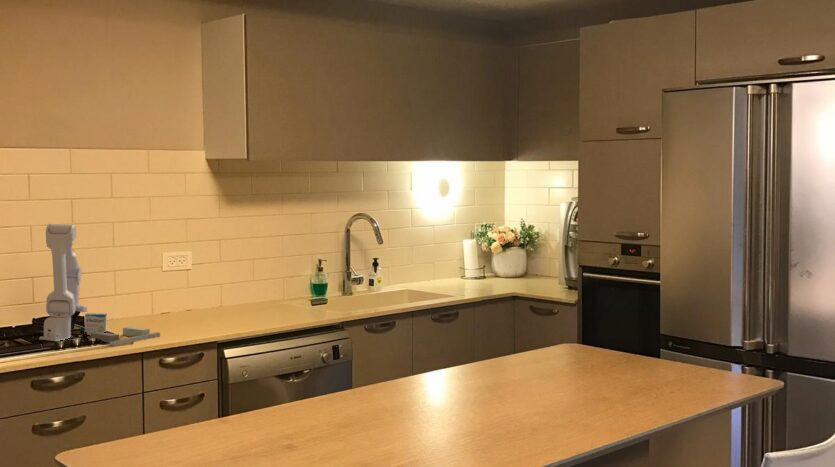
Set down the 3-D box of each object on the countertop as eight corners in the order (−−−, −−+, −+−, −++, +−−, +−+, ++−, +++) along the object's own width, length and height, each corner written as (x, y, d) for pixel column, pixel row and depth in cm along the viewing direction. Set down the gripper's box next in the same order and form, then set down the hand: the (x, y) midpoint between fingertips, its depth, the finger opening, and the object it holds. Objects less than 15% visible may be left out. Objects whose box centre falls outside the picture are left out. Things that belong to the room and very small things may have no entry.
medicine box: (84, 336, 357) (84, 314, 356) (85, 334, 361) (85, 312, 361) (105, 336, 359) (106, 314, 358) (106, 334, 363) (106, 312, 363)
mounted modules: (111, 343, 343) (111, 335, 343) (91, 341, 347) (91, 333, 347) (149, 336, 362) (149, 328, 362) (129, 333, 366) (130, 326, 366)
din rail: (113, 345, 339) (113, 341, 339) (109, 345, 340) (109, 341, 340) (160, 336, 363) (160, 332, 363) (157, 335, 364) (157, 332, 364)
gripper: (92, 295, 365) (92, 328, 366) (65, 292, 371) (65, 325, 372) (79, 296, 359) (78, 331, 360) (52, 293, 365) (51, 327, 366)
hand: (70, 328), depth 365 cm, fingers closed
